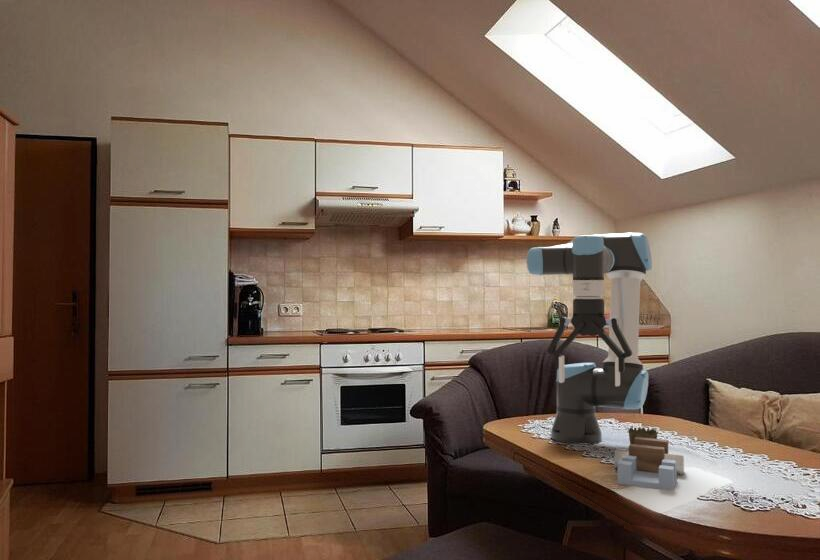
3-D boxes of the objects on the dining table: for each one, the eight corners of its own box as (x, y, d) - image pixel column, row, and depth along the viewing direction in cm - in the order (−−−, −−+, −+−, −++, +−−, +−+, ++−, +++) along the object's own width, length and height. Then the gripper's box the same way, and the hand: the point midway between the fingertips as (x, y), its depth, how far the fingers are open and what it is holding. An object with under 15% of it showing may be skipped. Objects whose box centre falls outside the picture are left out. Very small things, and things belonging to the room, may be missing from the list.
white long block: (617, 464, 171) (617, 445, 171) (684, 471, 164) (683, 452, 164) (614, 471, 167) (613, 452, 166) (682, 479, 160) (682, 460, 159)
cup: (660, 463, 172) (659, 433, 173) (630, 462, 174) (630, 432, 174) (655, 456, 180) (655, 427, 180) (627, 455, 181) (626, 426, 181)
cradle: (623, 475, 162) (623, 454, 162) (676, 481, 156) (676, 460, 156) (617, 484, 154) (617, 463, 154) (672, 492, 148) (672, 469, 148)
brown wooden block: (635, 463, 172) (635, 436, 173) (668, 467, 169) (668, 440, 169) (629, 474, 162) (628, 446, 162) (663, 478, 159) (663, 449, 159)
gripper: (534, 298, 165) (535, 382, 165) (639, 298, 154) (640, 389, 154) (542, 297, 172) (543, 378, 172) (643, 297, 161) (644, 384, 161)
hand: (589, 383), depth 163 cm, fingers open, 13 cm apart
